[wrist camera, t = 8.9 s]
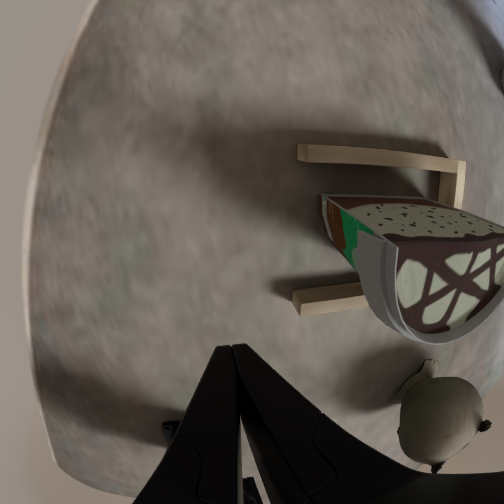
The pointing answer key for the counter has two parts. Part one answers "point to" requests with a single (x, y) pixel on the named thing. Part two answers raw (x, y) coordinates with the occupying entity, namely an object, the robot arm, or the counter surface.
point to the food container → (419, 262)
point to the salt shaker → (503, 79)
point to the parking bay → (450, 175)
